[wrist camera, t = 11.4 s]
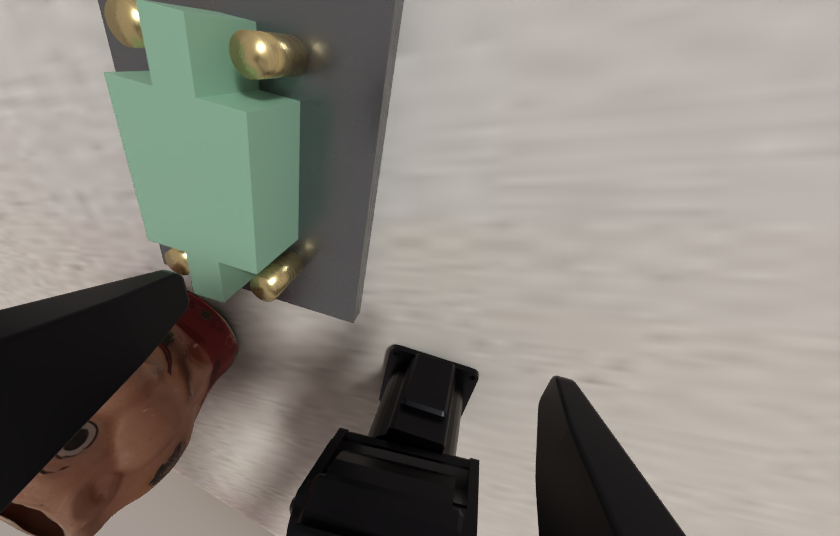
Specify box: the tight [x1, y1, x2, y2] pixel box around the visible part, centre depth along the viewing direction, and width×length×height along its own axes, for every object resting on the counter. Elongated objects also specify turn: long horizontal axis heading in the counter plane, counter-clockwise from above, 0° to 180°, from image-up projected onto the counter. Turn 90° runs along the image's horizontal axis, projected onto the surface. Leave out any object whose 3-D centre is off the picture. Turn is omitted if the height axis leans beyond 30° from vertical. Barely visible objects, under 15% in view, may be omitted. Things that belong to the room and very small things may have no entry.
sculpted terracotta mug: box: [0, 291, 238, 536], centre depth 24 cm, size 20×12×14 cm, turn 146°
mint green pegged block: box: [104, 0, 300, 303], centre depth 17 cm, size 6×13×4 cm, turn 168°
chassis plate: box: [98, 0, 404, 323], centre depth 18 cm, size 14×18×4 cm
